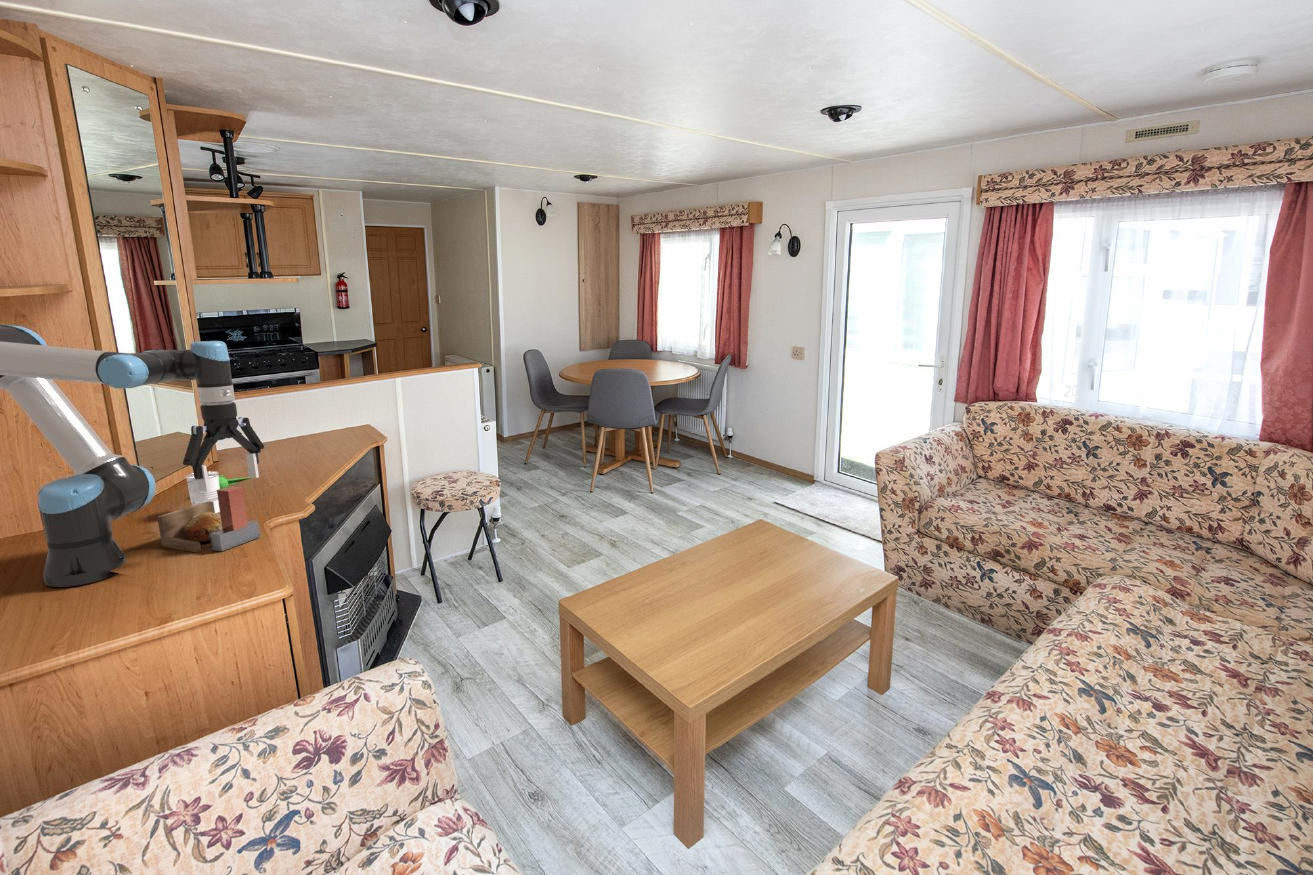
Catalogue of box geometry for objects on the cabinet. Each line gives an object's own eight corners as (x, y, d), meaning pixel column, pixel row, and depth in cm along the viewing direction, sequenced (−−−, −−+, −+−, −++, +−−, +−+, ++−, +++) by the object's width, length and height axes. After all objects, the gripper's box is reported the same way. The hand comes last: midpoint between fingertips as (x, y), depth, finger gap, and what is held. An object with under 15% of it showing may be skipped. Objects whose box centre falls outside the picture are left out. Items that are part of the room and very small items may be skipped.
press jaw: (223, 551, 163) (215, 495, 160) (211, 549, 164) (203, 493, 161) (261, 537, 173) (254, 483, 170) (250, 535, 175) (243, 482, 172)
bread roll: (228, 540, 179) (222, 512, 180) (235, 534, 172) (228, 505, 172) (185, 549, 172) (179, 520, 173) (190, 543, 165) (183, 513, 165)
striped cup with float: (205, 518, 189) (199, 479, 187) (181, 516, 191) (175, 478, 189) (233, 508, 199) (228, 471, 197) (210, 506, 201) (204, 469, 198)
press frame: (196, 552, 163) (191, 522, 161) (159, 546, 167) (154, 517, 166) (251, 532, 177) (247, 505, 176) (215, 527, 182) (211, 500, 180)
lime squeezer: (230, 508, 201) (228, 488, 199) (186, 512, 197) (183, 492, 196) (259, 481, 232) (256, 464, 231) (221, 484, 228) (218, 466, 227)
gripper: (178, 411, 149) (192, 498, 153) (272, 396, 172) (282, 472, 176) (155, 409, 151) (170, 496, 155) (251, 395, 174) (262, 471, 178)
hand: (230, 483), depth 166 cm, fingers open, 13 cm apart
